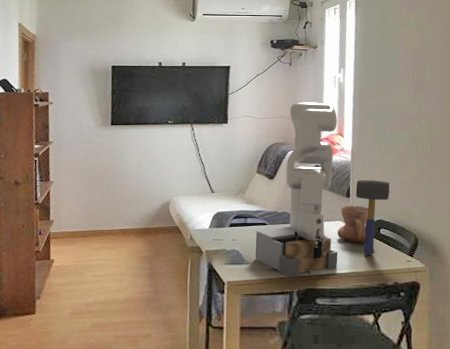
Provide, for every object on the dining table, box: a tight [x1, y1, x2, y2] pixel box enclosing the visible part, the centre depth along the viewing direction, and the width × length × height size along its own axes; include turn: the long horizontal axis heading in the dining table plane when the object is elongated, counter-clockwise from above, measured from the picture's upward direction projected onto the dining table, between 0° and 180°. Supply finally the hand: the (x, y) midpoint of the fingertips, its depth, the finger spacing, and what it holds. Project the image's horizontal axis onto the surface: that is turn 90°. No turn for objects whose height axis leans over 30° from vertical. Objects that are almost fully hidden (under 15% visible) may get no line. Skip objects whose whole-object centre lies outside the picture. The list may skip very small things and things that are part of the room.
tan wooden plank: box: [285, 236, 332, 274], centre depth 202 cm, size 18×4×11 cm, turn 120°
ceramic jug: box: [337, 205, 368, 243], centre depth 244 cm, size 18×14×14 cm
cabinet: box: [255, 226, 338, 278], centre depth 210 cm, size 22×22×11 cm
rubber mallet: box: [355, 179, 390, 256], centre depth 221 cm, size 12×8×30 cm, turn 75°
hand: (308, 254), depth 203 cm, fingers open, 9 cm apart
